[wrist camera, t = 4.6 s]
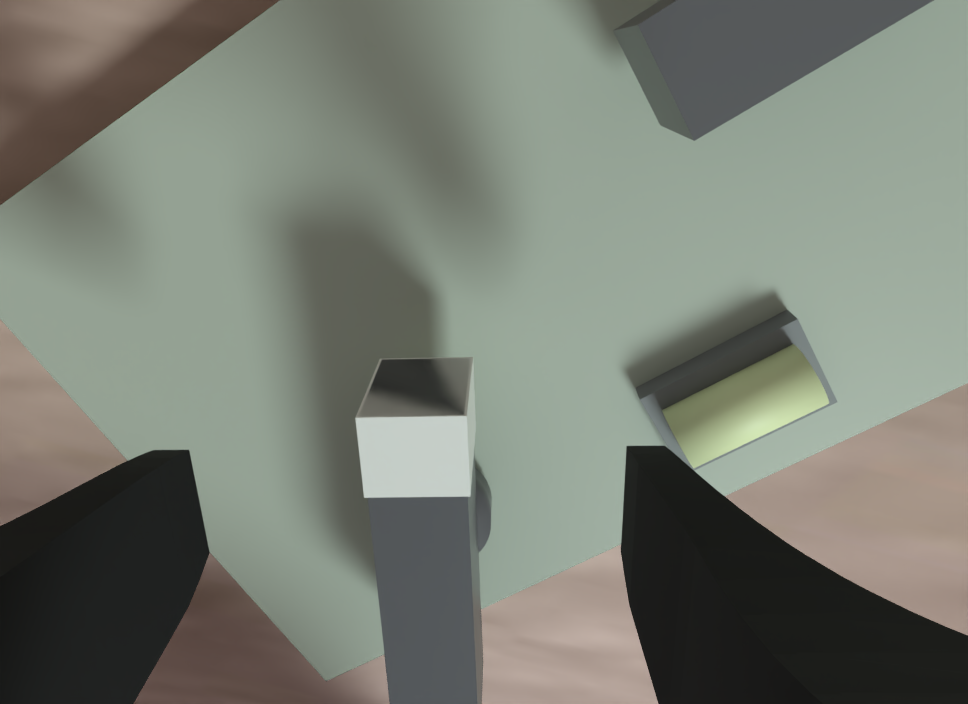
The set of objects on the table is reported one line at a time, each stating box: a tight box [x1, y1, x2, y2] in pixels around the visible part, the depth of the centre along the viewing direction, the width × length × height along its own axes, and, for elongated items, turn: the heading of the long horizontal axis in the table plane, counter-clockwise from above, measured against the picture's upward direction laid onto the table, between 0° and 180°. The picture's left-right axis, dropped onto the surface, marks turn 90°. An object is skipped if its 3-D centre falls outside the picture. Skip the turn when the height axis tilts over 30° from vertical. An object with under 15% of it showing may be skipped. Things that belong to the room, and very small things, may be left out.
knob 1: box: [355, 357, 492, 704], centre depth 15 cm, size 8×2×4 cm, turn 2°
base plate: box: [0, 0, 968, 681], centre depth 15 cm, size 24×14×3 cm, turn 121°
